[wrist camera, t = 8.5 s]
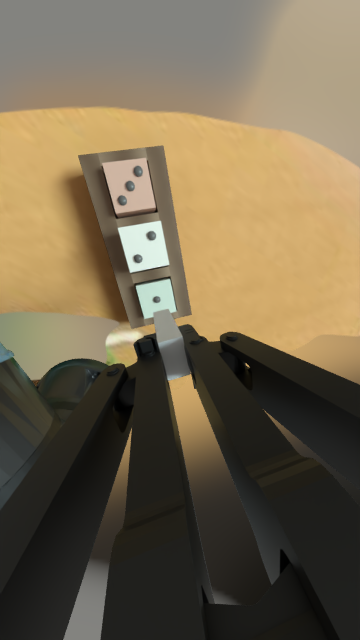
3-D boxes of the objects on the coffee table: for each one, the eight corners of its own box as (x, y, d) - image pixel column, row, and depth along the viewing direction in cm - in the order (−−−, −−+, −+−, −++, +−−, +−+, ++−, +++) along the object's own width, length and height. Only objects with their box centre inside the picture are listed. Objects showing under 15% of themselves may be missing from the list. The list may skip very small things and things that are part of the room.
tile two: (133, 270, 26) (130, 272, 21) (123, 234, 24) (117, 227, 19) (165, 264, 26) (169, 264, 21) (158, 228, 24) (160, 220, 20)
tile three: (121, 222, 25) (115, 213, 21) (110, 182, 24) (101, 162, 19) (154, 217, 26) (155, 206, 21) (146, 178, 24) (145, 156, 19)
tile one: (144, 310, 30) (144, 319, 25) (137, 282, 28) (135, 286, 24) (172, 304, 31) (176, 311, 26) (166, 276, 29) (170, 279, 24)
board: (133, 321, 31) (131, 329, 27) (89, 172, 23) (77, 155, 19) (186, 308, 32) (191, 314, 28) (160, 163, 24) (163, 145, 20)
